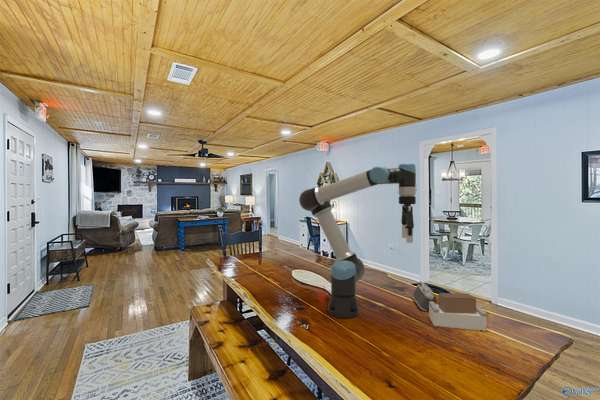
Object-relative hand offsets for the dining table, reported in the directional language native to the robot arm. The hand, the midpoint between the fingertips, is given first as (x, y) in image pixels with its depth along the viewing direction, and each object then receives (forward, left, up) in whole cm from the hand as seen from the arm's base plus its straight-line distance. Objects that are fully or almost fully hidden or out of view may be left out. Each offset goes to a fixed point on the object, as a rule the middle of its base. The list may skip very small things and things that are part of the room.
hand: (407, 240), depth 129 cm
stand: (+19, -8, -35) cm, 40 cm away
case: (+19, -8, -29) cm, 35 cm away
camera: (+11, +10, -35) cm, 38 cm away
